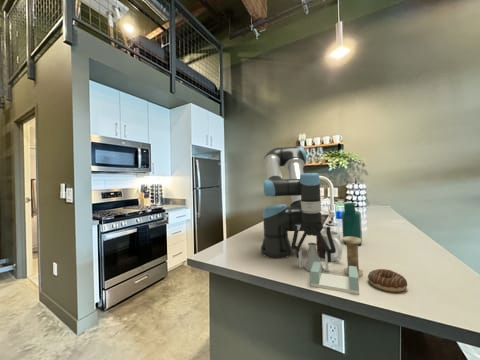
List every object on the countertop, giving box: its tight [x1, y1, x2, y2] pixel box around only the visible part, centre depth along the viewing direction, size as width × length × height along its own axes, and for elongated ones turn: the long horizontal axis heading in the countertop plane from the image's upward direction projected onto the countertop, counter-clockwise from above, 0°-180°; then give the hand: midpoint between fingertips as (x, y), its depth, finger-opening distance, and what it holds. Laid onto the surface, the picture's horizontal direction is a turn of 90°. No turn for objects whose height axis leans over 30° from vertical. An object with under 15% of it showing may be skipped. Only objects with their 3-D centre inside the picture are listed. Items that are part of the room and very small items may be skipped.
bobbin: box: [342, 236, 364, 278], centre depth 78 cm, size 6×6×13 cm
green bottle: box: [341, 202, 363, 246], centre depth 113 cm, size 10×8×22 cm
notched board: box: [310, 261, 360, 295], centre depth 71 cm, size 14×9×5 cm, turn 64°
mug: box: [315, 229, 343, 262], centre depth 94 cm, size 10×12×11 cm
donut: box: [367, 268, 408, 293], centre depth 69 cm, size 11×11×4 cm
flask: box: [304, 242, 324, 272], centre depth 84 cm, size 7×7×10 cm
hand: (313, 268), depth 84 cm, fingers open, 9 cm apart
